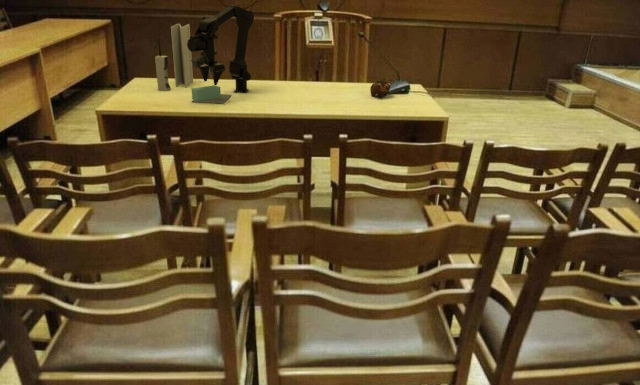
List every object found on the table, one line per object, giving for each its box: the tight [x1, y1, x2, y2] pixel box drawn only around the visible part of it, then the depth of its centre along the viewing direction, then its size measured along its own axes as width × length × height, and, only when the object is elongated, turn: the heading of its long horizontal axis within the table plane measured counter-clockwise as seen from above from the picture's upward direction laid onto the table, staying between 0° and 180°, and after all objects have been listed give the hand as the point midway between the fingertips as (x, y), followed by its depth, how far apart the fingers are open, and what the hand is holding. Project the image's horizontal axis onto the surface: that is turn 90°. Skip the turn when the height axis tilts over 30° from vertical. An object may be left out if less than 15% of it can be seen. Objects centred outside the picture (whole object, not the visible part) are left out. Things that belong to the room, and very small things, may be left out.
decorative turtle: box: [369, 80, 391, 99], centre depth 257 cm, size 10×15×8 cm, turn 155°
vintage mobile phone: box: [154, 38, 172, 92], centre depth 247 cm, size 4×5×25 cm
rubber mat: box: [191, 93, 232, 105], centre depth 240 cm, size 16×15×1 cm
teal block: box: [191, 84, 222, 101], centre depth 238 cm, size 5×5×12 cm
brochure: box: [170, 23, 194, 89], centre depth 259 cm, size 14×6×30 cm, turn 179°
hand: (210, 83), depth 237 cm, fingers open, 9 cm apart
